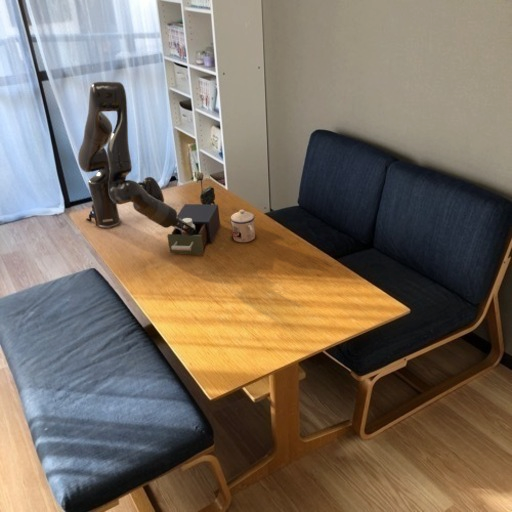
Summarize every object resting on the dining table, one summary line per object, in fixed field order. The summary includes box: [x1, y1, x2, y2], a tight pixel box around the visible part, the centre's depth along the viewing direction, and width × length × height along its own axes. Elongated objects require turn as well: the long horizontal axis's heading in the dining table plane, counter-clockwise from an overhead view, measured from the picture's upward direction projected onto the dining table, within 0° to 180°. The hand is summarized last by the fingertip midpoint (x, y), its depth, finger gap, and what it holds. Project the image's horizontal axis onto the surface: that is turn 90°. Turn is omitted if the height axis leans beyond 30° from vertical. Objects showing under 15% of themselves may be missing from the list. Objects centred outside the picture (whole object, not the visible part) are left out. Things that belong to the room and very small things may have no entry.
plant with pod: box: [195, 171, 216, 205], centre depth 216 cm, size 8×11×20 cm
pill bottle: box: [181, 218, 195, 235], centre depth 191 cm, size 5×5×10 cm
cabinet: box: [177, 203, 221, 245], centre depth 202 cm, size 16×14×9 cm
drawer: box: [166, 224, 208, 255], centre depth 191 cm, size 20×13×7 cm, turn 171°
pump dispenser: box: [137, 176, 165, 203], centre depth 224 cm, size 10×10×15 cm
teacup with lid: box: [230, 209, 256, 243], centre depth 195 cm, size 12×9×12 cm
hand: (192, 231), depth 192 cm, fingers closed on pill bottle, 5 cm apart
